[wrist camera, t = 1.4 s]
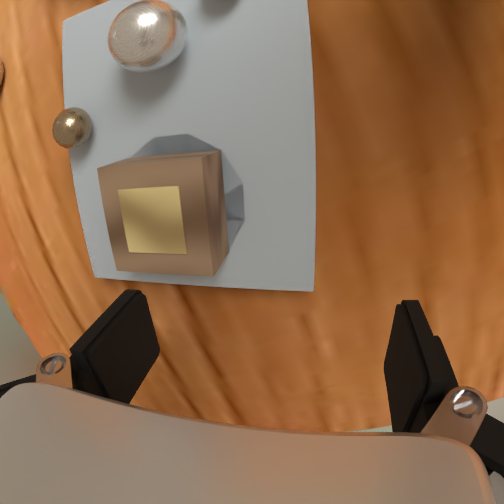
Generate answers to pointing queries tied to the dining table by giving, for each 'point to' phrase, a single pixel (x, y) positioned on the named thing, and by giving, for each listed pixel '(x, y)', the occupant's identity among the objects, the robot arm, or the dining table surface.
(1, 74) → the plastic bottle
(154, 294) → the dining table surface
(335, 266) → the dining table surface
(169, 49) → the steel boule
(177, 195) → the walnut cover
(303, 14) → the hole board
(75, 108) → the bronze ball
